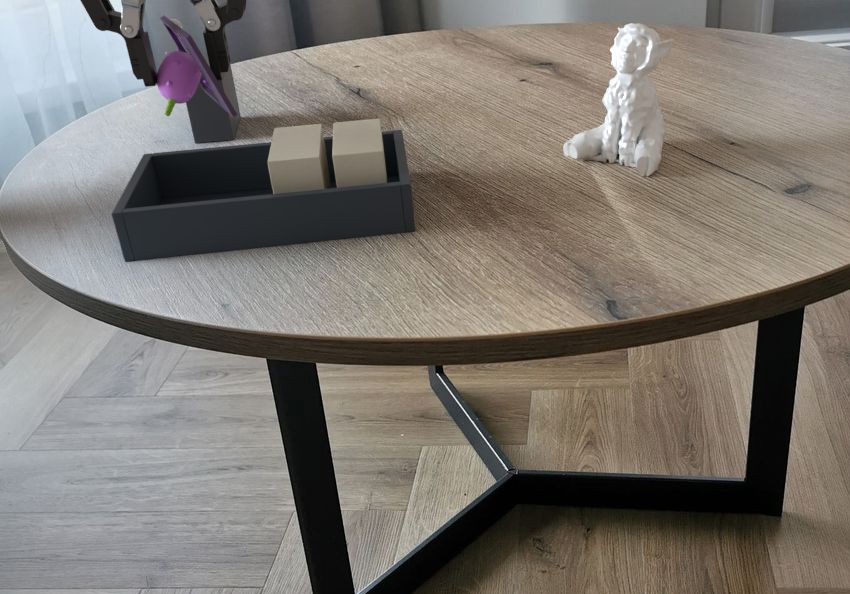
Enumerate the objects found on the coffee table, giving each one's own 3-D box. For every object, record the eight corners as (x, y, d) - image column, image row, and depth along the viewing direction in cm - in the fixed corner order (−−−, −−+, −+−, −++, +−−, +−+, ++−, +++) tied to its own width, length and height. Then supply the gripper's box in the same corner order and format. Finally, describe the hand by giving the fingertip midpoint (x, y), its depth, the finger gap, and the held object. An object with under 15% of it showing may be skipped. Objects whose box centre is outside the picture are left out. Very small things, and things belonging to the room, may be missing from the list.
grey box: (194, 143, 100) (179, 76, 96) (204, 120, 107) (190, 56, 103) (233, 139, 100) (220, 72, 97) (240, 117, 107) (228, 53, 104)
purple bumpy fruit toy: (199, 30, 69) (171, 10, 76) (136, 66, 68) (113, 42, 75) (246, 110, 73) (216, 85, 80) (187, 145, 72) (161, 116, 79)
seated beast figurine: (559, 162, 90) (556, 30, 83) (604, 134, 96) (605, 10, 89) (651, 179, 85) (655, 40, 79) (692, 149, 91) (699, 18, 85)
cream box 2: (342, 226, 78) (332, 155, 75) (342, 188, 85) (333, 122, 82) (391, 221, 78) (383, 150, 75) (387, 183, 85) (380, 117, 82)
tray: (126, 268, 74) (111, 213, 72) (156, 203, 86) (143, 153, 84) (416, 238, 76) (410, 183, 74) (407, 178, 88) (401, 129, 86)
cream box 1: (280, 232, 77) (267, 161, 74) (286, 194, 85) (274, 127, 82) (330, 227, 78) (319, 156, 75) (331, 189, 85) (321, 123, 82)
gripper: (6, -158, 62) (80, 103, 71) (231, -173, 63) (276, 85, 72) (38, -164, 68) (102, 76, 77) (241, -177, 70) (281, 61, 78)
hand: (185, 79), depth 74 cm, fingers closed on purple bumpy fruit toy, 4 cm apart
